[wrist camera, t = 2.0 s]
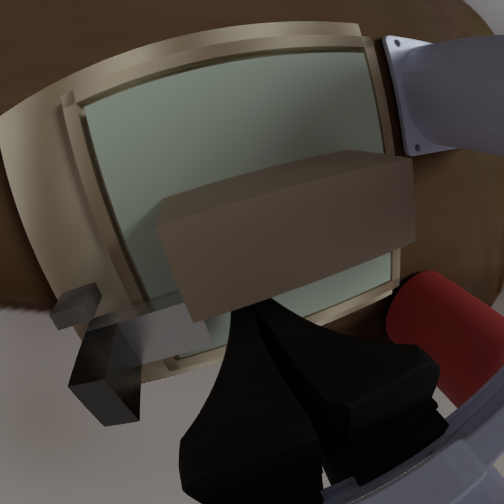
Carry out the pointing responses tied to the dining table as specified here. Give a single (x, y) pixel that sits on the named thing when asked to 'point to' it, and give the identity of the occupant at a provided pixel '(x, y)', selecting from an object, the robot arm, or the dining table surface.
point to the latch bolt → (131, 354)
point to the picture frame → (93, 186)
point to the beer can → (449, 332)
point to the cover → (255, 184)
